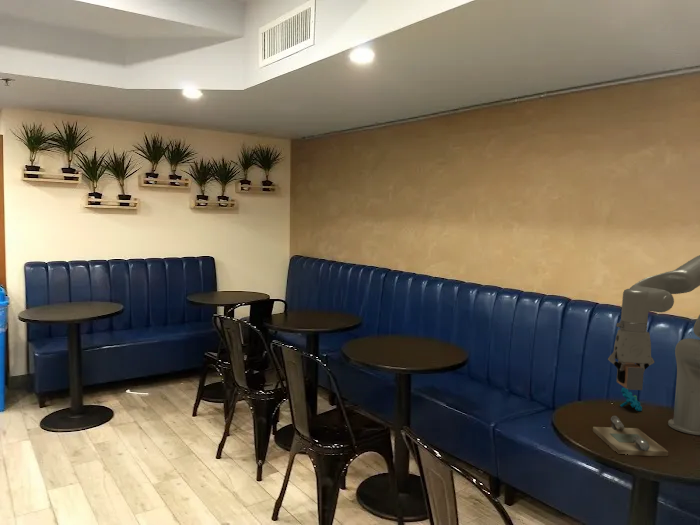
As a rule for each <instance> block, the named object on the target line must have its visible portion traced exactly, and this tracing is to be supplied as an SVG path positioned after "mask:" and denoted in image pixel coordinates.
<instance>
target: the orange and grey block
mask: <svg viewBox="0 0 700 525" xmlns="http://www.w3.org/2000/svg"><path fill="white" fill-rule="evenodd" d="M624 371H625V382H624V383H621V382H620V381H618V379H617V378H616V383H617V384H619V385H620V386H622V388H625V389H628V390H631V391H643V387H644V386H643V385H644V376H645V375H644V373H645V371H644V368H642V367H640V366H638V365H636V363H626V365H625V368H624ZM617 374H618V369H617V368H616V375H617Z"/></svg>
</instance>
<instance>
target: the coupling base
mask: <svg viewBox="0 0 700 525" xmlns="http://www.w3.org/2000/svg"><path fill="white" fill-rule="evenodd" d="M592 432H593V433H594V434H596V436H598V438H600V439H601V441H603V442H604V443H605V444H606V445H607V446H608V445H609V447H610V449H611V450H613V451H614V452H615V451H616V452H617V453H618V454H625V455H624V456H646V457H647V456H650V457H651V456H652V457H653V456H654V457H668V456H669V451H668V450H667V449H666V448H664V447H663V446H662V445H661V444H659V443H657V442H656V441H655V440H654V439H653V438H651V437H649V435H647V434H646V433H645V432H643V431H642V430H641V429H639V428H638V427H625V428H624V430H622V431H619V430H618V429H617V428H616V426H615V424H614V423H613V422H612V421H611V426H610V427H607V426H606V427H605V426H593V427H592ZM636 436H639V437H640V438H641V439H643V440H644V441H645V442H646V443H648V444H649V446H650V447H649V449H648V450H646V451H644V450H643V449H641V448H640V445H639V444H638V443H637V442H636V444H635V443H634V442H633V438H634V437H636ZM616 452H615V453H616ZM617 453H616V454H617ZM618 454H617V455H618ZM627 454H628V455H627Z"/></svg>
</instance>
